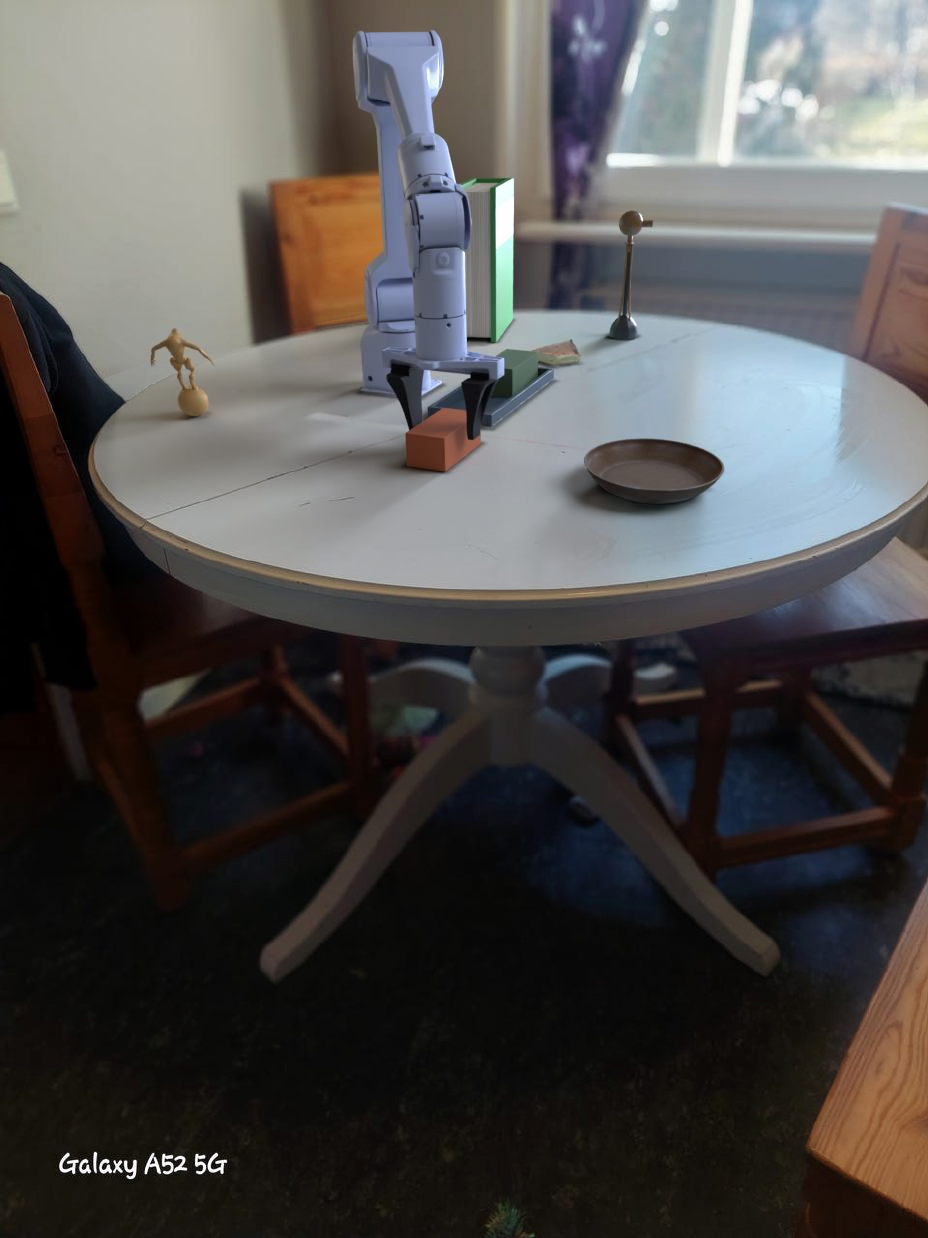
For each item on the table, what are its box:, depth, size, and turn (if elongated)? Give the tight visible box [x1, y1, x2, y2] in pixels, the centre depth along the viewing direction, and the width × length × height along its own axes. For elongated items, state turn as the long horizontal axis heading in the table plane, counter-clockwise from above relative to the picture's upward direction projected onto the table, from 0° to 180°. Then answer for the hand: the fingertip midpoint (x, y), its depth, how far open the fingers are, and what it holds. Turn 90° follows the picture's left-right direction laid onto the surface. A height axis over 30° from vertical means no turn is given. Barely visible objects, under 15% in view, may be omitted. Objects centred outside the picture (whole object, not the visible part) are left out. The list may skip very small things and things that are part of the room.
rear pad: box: [491, 348, 539, 398], centre depth 125 cm, size 5×10×4 cm, turn 155°
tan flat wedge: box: [531, 338, 581, 366], centre depth 140 cm, size 11×8×2 cm
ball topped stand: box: [608, 209, 654, 340], centre depth 147 cm, size 6×5×20 cm
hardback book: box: [459, 177, 515, 343], centre depth 152 cm, size 18×7×24 cm, turn 168°
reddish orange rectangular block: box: [404, 408, 482, 473], centre depth 103 cm, size 5×10×4 cm, turn 155°
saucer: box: [583, 437, 726, 505], centre depth 94 cm, size 15×15×3 cm
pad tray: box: [426, 366, 555, 428], centre depth 122 cm, size 9×23×2 cm, turn 155°
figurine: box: [150, 328, 215, 417], centre depth 115 cm, size 8×6×12 cm
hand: (444, 433), depth 103 cm, fingers open, 7 cm apart
